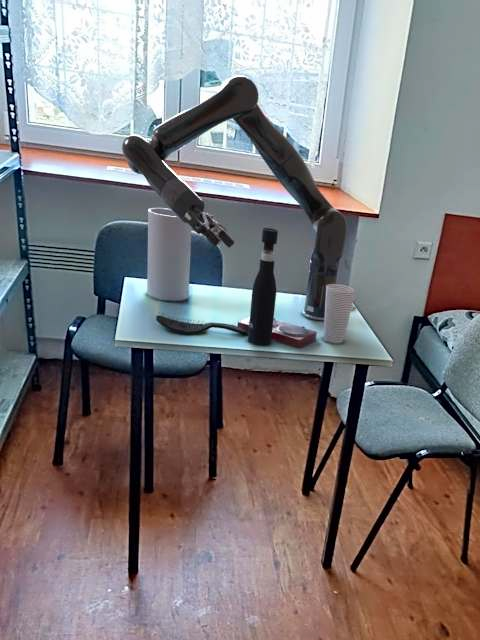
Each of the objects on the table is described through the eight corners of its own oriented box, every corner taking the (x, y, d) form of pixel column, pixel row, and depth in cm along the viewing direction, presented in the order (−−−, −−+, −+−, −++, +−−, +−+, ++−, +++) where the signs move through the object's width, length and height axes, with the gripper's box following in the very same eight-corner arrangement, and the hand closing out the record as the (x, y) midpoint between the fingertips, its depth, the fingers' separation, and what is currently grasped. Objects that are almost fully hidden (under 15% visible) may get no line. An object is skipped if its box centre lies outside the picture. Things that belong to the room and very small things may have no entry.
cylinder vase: (187, 303, 203) (191, 219, 191) (145, 299, 200) (146, 213, 188) (188, 293, 213) (192, 212, 201) (148, 288, 210) (149, 206, 198)
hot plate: (258, 321, 199) (259, 312, 197) (317, 338, 193) (318, 329, 192) (237, 329, 189) (238, 319, 187) (298, 347, 183) (299, 338, 182)
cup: (344, 347, 190) (353, 294, 183) (316, 341, 191) (323, 288, 183) (349, 339, 198) (357, 287, 190) (321, 333, 198) (329, 282, 191)
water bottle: (274, 341, 184) (286, 231, 170) (264, 347, 179) (276, 233, 165) (254, 336, 186) (264, 225, 171) (243, 341, 180) (253, 228, 166)
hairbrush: (250, 329, 181) (156, 317, 173) (248, 342, 183) (155, 330, 175) (246, 320, 188) (156, 308, 180) (245, 332, 190) (155, 321, 182)
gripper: (176, 185, 165) (222, 231, 166) (203, 192, 179) (244, 235, 179) (160, 208, 168) (204, 254, 168) (187, 213, 181) (228, 256, 182)
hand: (225, 244), depth 174 cm, fingers open, 8 cm apart
